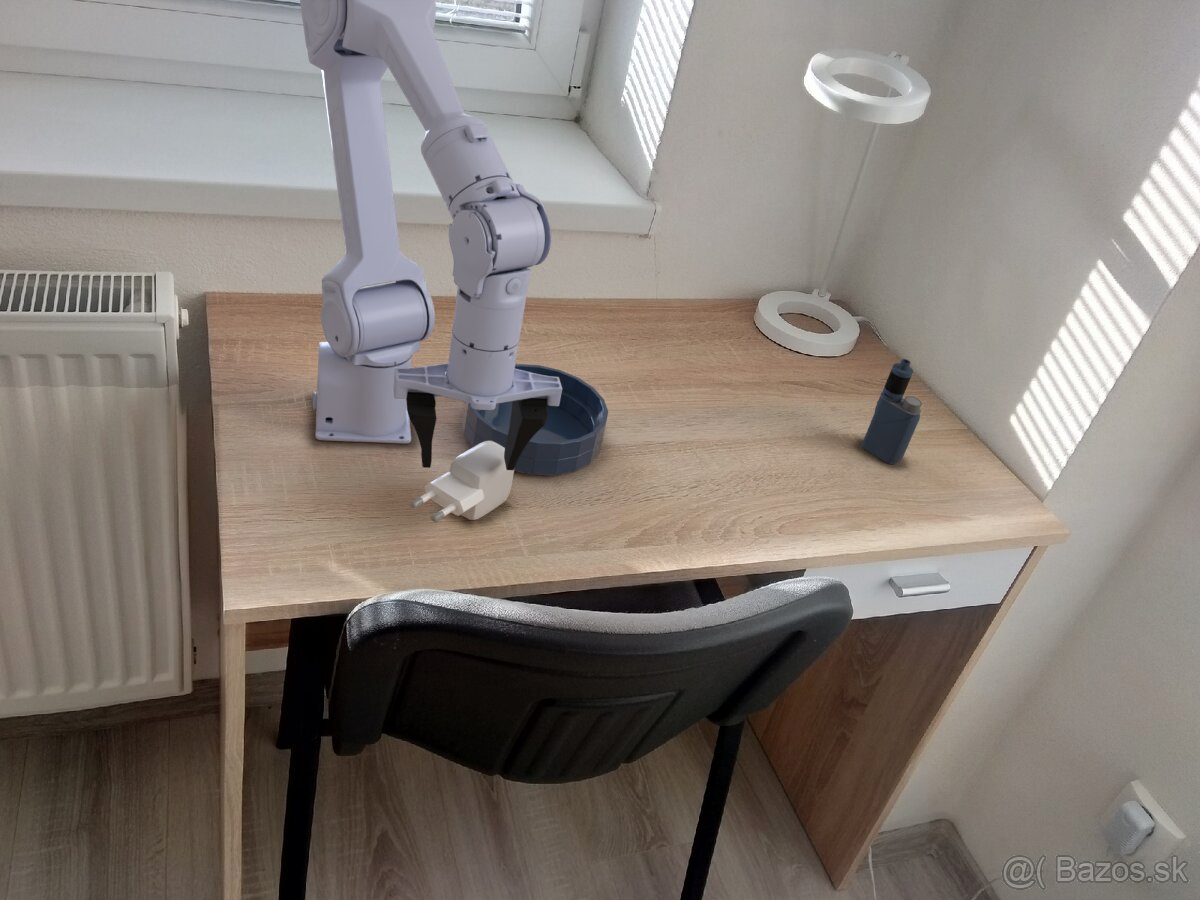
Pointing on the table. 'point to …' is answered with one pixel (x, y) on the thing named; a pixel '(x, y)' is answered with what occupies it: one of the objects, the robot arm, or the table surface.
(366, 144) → the robot arm
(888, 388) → the vaping device
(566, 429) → the bowl
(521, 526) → the table surface
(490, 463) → the power adapter
